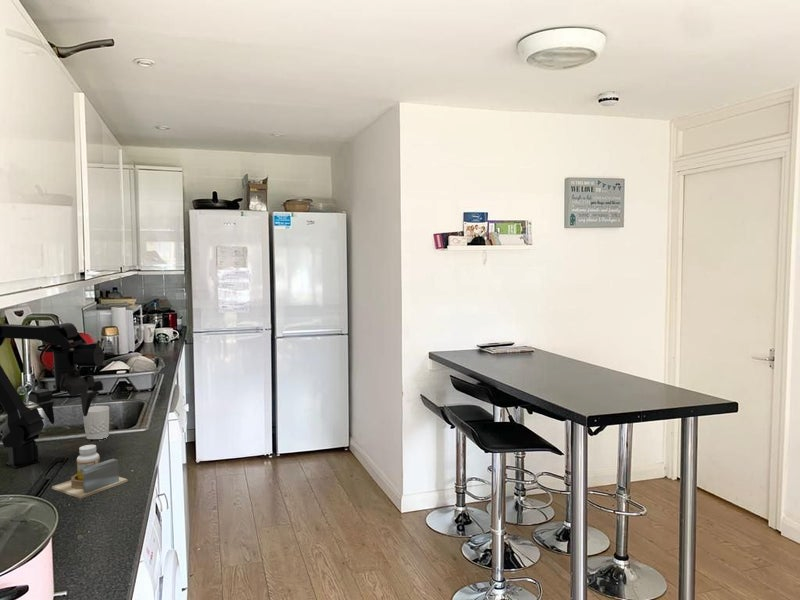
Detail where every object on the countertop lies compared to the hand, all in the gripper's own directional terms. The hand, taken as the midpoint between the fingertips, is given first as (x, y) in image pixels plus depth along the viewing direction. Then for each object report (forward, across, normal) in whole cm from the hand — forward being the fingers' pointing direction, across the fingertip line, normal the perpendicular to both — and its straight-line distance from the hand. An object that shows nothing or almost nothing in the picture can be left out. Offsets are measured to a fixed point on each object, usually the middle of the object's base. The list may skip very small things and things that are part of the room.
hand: (69, 419), depth 174 cm
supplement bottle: (+13, -6, -21) cm, 25 cm away
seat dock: (+13, -6, -21) cm, 26 cm away
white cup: (+13, +17, +18) cm, 28 cm away
